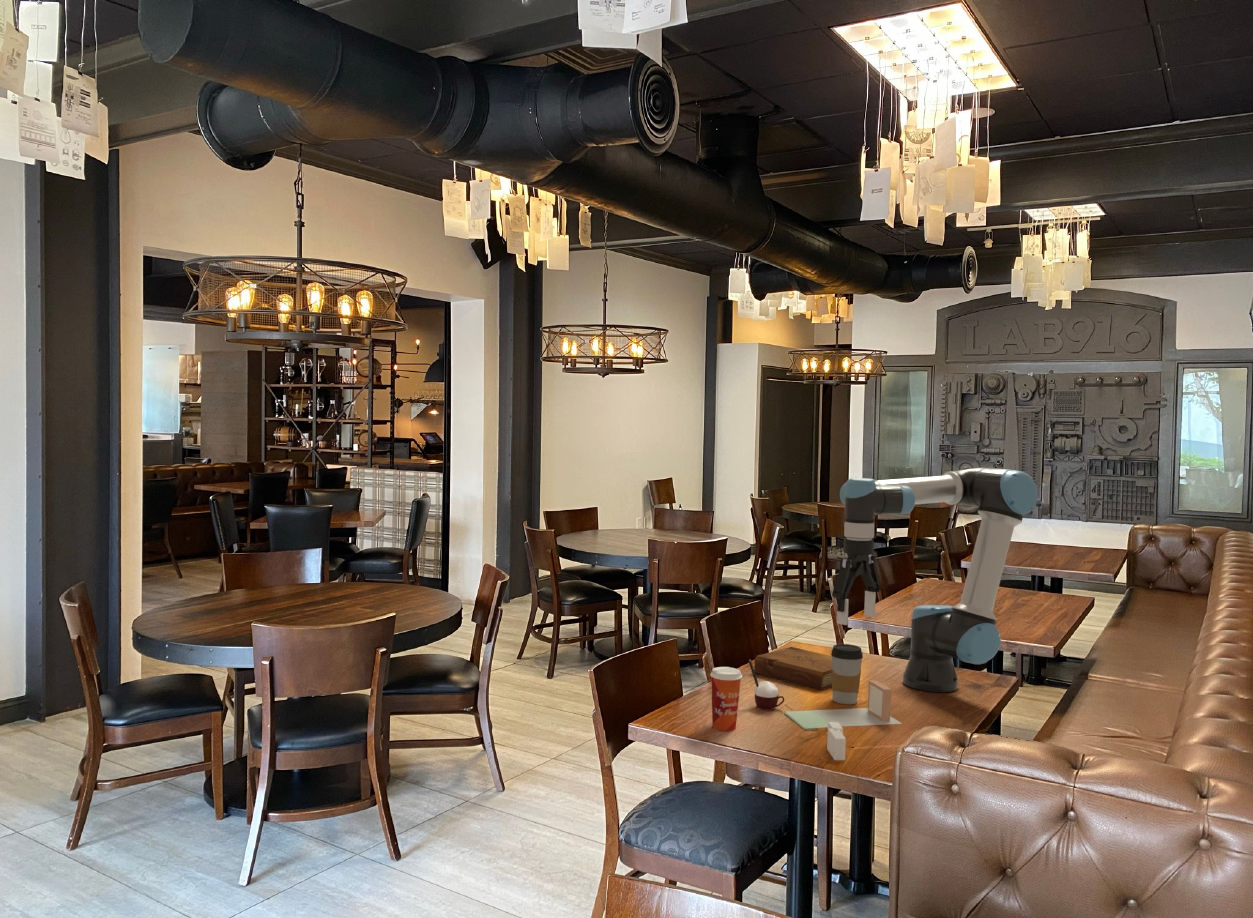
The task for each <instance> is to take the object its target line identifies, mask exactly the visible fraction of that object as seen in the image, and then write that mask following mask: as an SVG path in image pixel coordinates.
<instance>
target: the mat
mask: <svg viewBox="0 0 1253 918" xmlns="http://www.w3.org/2000/svg"><path fill="white" fill-rule="evenodd" d="M783 714H784V715H786V716H787V717H788V718H789V719H791V720H792V721H793V722H794V723H795V724H797V726H799V727H800V728H802V729H803V730H804V731H815V730H819V728H822V729H823V728H828V722H838V723H839V724H840V725H841V727H842V728H843V727H859V726H860V727H861V726H863V727H865V726H866V727H867V726H883V725H884V726H886V725H903V723H902V722H900V721H899V720H897V719H896V718H894V717H893V716H891V715H890V721H882V720H880V719H879V718H877V717H876V716H874V715H873V714H871V713H870V712H868V707H864V708H863V707H862V708H860V707H859V708H858V707H857V708H840V709H839V708H838V709H834V708H832V709H815V710H792V711H784V712H783Z"/></svg>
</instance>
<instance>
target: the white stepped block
mask: <svg viewBox="0 0 1253 918" xmlns="http://www.w3.org/2000/svg"><path fill="white" fill-rule="evenodd" d="M826 742H827V746H826V750H827V751H828V752H829V755H830V756H831V757H832V759H833V760H834V761H846V744H847V743H846V742H847V739H846V737H845V736H844V728H843V727H841V725H840V724H839V723H838V722H828V727H827V739H826Z"/></svg>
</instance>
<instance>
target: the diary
mask: <svg viewBox="0 0 1253 918" xmlns="http://www.w3.org/2000/svg"><path fill="white" fill-rule="evenodd" d="M753 668H754V671H755V674H756V673H757V675H761V676H763V677H767V678H771V679H775V678H776V680H780V681H784V682H786V683H787V682H788V683H791V684H794V685H798V686H802V687H807V688H811V689H813V690H817V691H821V692H822V691H826V690H829V689H832V656H831V655H827V654H824V653H820V652H814V651H811V650H806V649H802V648H798V647H793V646H789V647H785V648H781V649H778V650H774V651H770V652H766V653H763V654H758V655H756V657H755V658H754V663H753Z"/></svg>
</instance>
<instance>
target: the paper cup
mask: <svg viewBox="0 0 1253 918" xmlns="http://www.w3.org/2000/svg"><path fill="white" fill-rule="evenodd" d="M710 677H711V718H712V728H713V729H714V730H715V731H721V732H732V731H735V730H736V728H737V727H736V726H737V719H738V711H739V701H740V700H739V699H740V688H741V679H742V678H743V675H742V672H741V670H740V669H738V668H735V667H730V666H718V667H713V668H712V670H711V673H710Z"/></svg>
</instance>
